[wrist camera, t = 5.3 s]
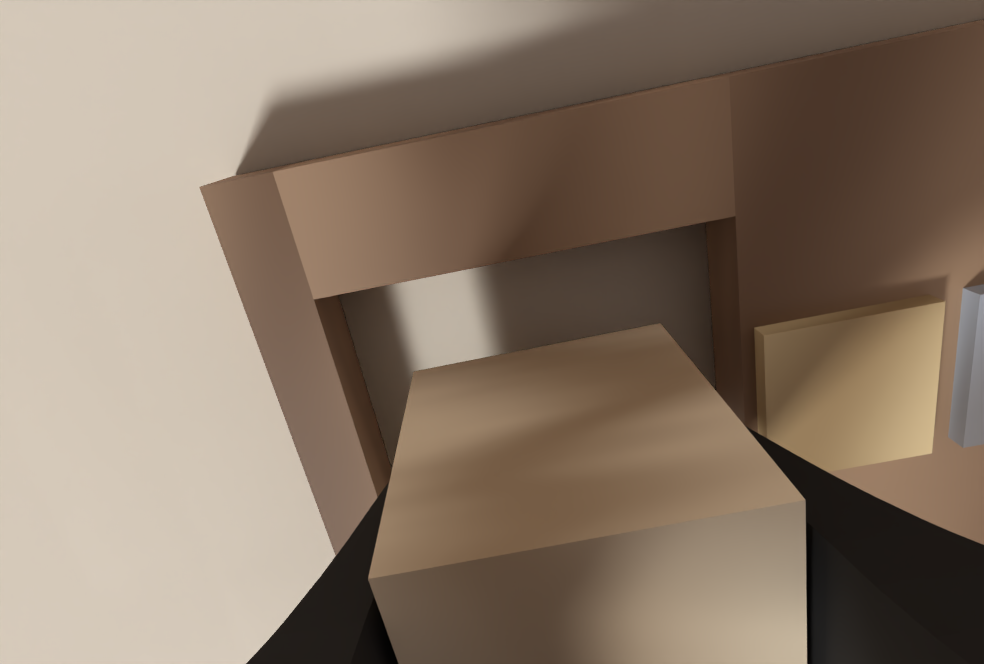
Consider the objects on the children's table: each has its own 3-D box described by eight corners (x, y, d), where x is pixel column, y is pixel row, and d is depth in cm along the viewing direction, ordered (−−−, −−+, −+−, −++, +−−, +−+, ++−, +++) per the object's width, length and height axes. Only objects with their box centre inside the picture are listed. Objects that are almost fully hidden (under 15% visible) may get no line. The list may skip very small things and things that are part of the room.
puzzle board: (1588, -107, 10) (1820, -149, 8) (1354, 474, 15) (1476, 526, 13) (233, 176, 11) (188, 190, 9) (393, 638, 16) (383, 707, 14)
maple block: (660, 322, 11) (806, 499, 6) (681, 524, 12) (807, 785, 8) (413, 371, 11) (368, 578, 6) (466, 562, 12) (462, 840, 8)
